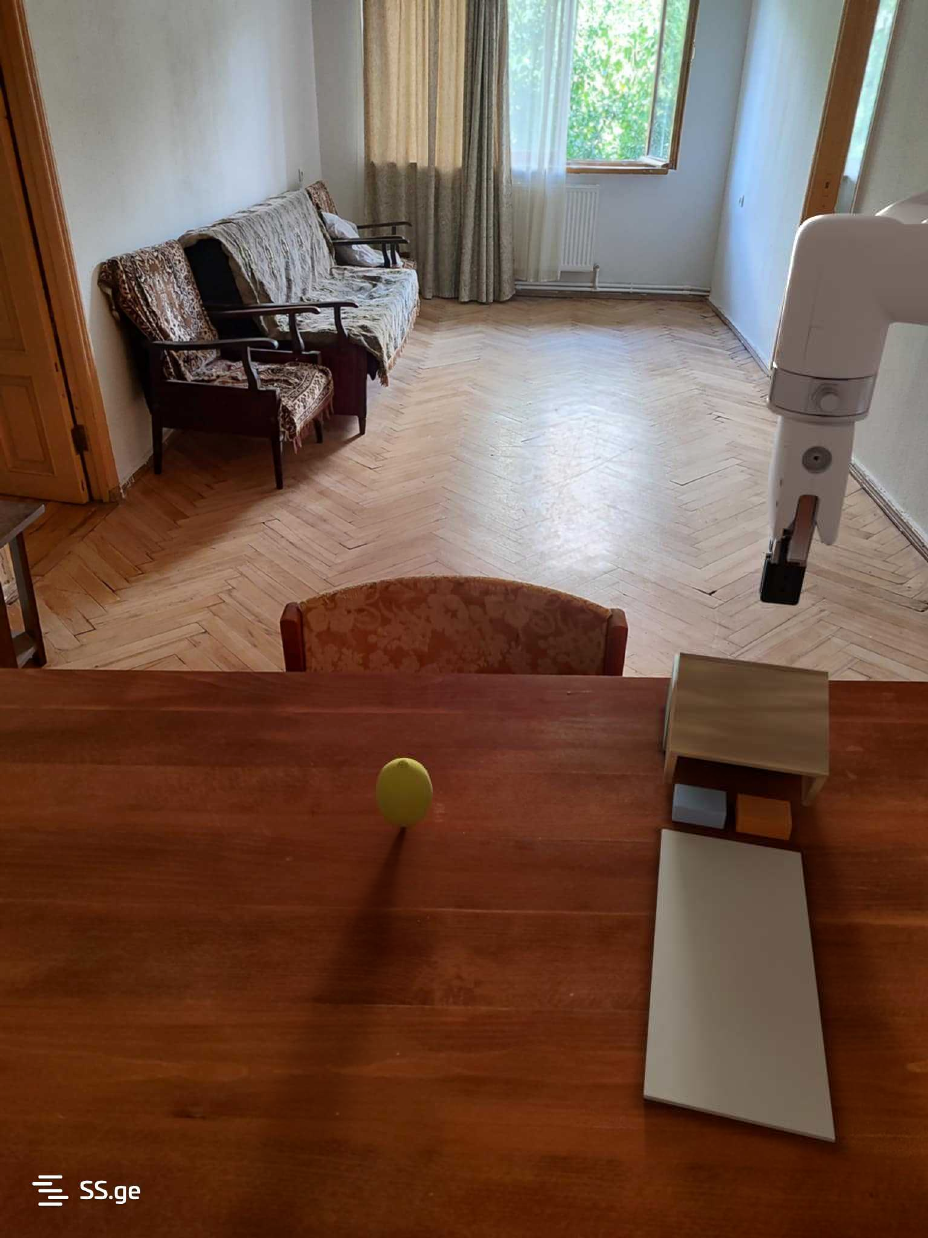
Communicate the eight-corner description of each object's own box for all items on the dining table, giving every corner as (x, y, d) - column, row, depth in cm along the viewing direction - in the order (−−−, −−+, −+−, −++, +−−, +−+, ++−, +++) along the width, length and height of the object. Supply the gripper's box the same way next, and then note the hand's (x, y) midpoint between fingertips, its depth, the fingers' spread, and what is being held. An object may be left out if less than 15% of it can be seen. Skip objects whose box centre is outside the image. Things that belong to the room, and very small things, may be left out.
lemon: (426, 847, 85) (426, 783, 81) (370, 840, 86) (367, 776, 82) (437, 808, 90) (437, 746, 86) (384, 802, 90) (381, 740, 86)
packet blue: (673, 798, 91) (675, 783, 90) (722, 806, 90) (725, 791, 89) (671, 820, 88) (674, 805, 87) (723, 829, 87) (726, 814, 86)
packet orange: (734, 808, 90) (738, 793, 89) (785, 816, 89) (789, 801, 88) (735, 831, 87) (739, 816, 86) (788, 840, 86) (792, 825, 85)
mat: (661, 831, 87) (662, 828, 87) (799, 855, 84) (800, 852, 84) (643, 1098, 63) (644, 1095, 63) (834, 1143, 61) (835, 1139, 61)
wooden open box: (680, 651, 88) (669, 750, 82) (828, 671, 85) (829, 775, 79) (672, 691, 94) (662, 786, 88) (809, 711, 91) (808, 810, 85)
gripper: (889, 423, 61) (834, 649, 70) (857, 369, 74) (813, 566, 83) (776, 415, 62) (736, 638, 72) (763, 364, 75) (731, 558, 84)
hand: (778, 599), depth 77 cm, fingers closed
